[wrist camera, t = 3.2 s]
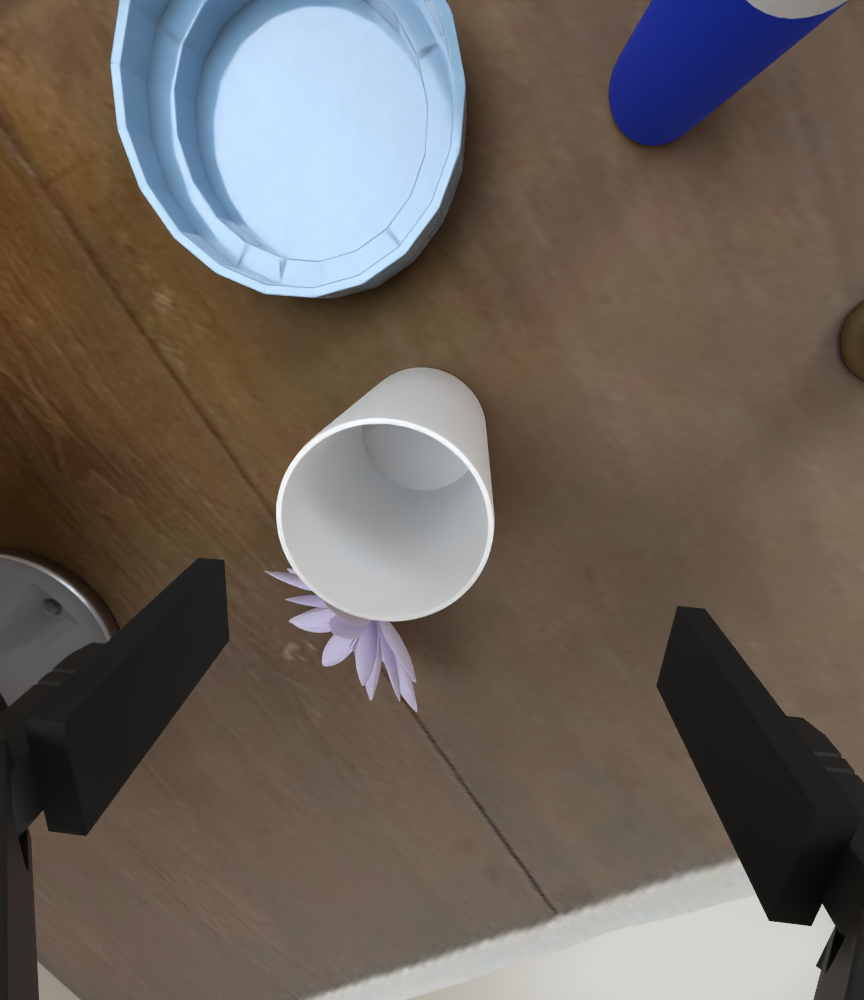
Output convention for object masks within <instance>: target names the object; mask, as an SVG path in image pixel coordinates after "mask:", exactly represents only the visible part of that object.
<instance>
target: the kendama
mask: <svg viewBox="0 0 864 1000" xmlns="http://www.w3.org/2000/svg"><path fill="white" fill-rule="evenodd" d="M841 354H842V357H843V359H844V361H845V363H846V365H847V368H848V370H850V371H851V372H852V373H853V374H855V375H856V376H857V377H858V378H860V379H861V380H864V301H862V302H861V303H860V304H859V305H858V306H857V307H856V308H855V309H854V311H853V312H852V313H851V314H850V315H849V316H848V317H847V319H846V322H845V325H844V328H843V331H842V334H841Z"/></svg>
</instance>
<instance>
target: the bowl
mask: <svg viewBox="0 0 864 1000" xmlns="http://www.w3.org/2000/svg"><path fill="white" fill-rule="evenodd" d="M110 62H111V63H110V66H111V75H112V84H113V93H114V102H115V111H116V121H117V128H118V132H119V135H120V137H121V140H122V143H123V145H124V148H125V151H126V154H127V156H128V159H129V162H130V164H131V167H132V170H133V172H134V175H135V178H136V180H137V183H138V186H139V188H140V190H141V191H142V193H143V194H144V196H145V197H146V199H147V200H148V202H149V203H150V204H151V206H152V207H153V209H154V210H155V212H156V213H157V215H158V216H159V217H160V219H161V220H162V222H163V223H164V225H165V226H166V228H167V229H168V230H169V232H170V233H171V235H172V236H173V237H174V238H175V240H177V241H178V242H179V243H180V244H181V245H183V246H184V247H185V248H186V249H187V250H189V251H190V252H191V253H192V254H193V255H195V256H196V257H197V258H198V259H199V260H201V261H202V262H203V263H204V264H205V265H207V266H208V267H209V268H210V269H211V270H213V271H214V272H215V273H217V274H218V275H220V276H223V277H225V278H227V279H230V280H232V281H234V282H237V283H239V284H241V285H244V286H246V287H249V288H251V289H253V290H256V291H258V292H260V293H263V294H267V295H280V296H293V297H306V298H325V299H336V298H340V297H343V296H347V295H351V294H354V293H358V292H362V291H365V290H369V289H373V288H376V287H378V286H379V285H381V284H382V283H384V282H385V281H387V280H388V279H389V278H391V277H392V276H394V275H395V274H397V273H398V272H400V271H401V270H402V269H404V268H405V267H407V266H408V265H410V264H411V263H413V262H414V260H416V258H417V257H418V256H419V254H420V253H421V252H422V250H423V249H424V248H425V246H426V245H427V244H428V242H429V241H430V240H431V238H432V237H433V236H434V235H435V233H436V232H437V231H438V229H439V228H440V227H441V225H442V224H443V221H444V220H445V218H446V215H447V213H448V210H449V207H450V204H451V202H452V199H453V196H454V194H455V191H456V188H457V185H458V183H459V180H460V177H461V175H462V171H463V161H464V148H465V136H466V123H467V102H466V81H465V76H464V71H463V65H462V60H461V55H460V50H459V44H458V39H457V34H456V29H455V23H454V18H453V14H452V11H451V9H450V7H449V5H448V3H447V1H446V0H120V1H119V8H118V15H117V21H116V28H115V34H114V41H113V47H112V54H111V61H110Z"/></svg>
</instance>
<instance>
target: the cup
mask: <svg viewBox="0 0 864 1000" xmlns="http://www.w3.org/2000/svg"><path fill="white" fill-rule="evenodd" d="M276 522H277V530H278V534H279V539H280V542H281V545H282V548H283V551H284V553H285V555H286V557H287V560H288V561H289V563H290V565H291V567H292V568H293V570H294V571H295V572H296V574H297V575H298V577H299V578H300V579H301V580H302V581H303V583H304V584H305V585H306V586H307V587H308V588H309V589H310V590H311V591H313V592H314V593H315V594H316V595H317V596H319V597H320V598H321V599H323V600H324V601H326V602H327V603H329V604H330V605H332V606H334V607H336V608H338V609H340V610H342V611H344V612H346V613H349V614H352V615H354V616H358V617H361V618H365V619H370V620H377V621H406V620H412V619H417V618H421V617H425V616H427V615H430V614H433V613H435V612H437V611H440V610H442V609H444V608H445V607H447V606H449V605H450V604H452V603H453V602H455V601H456V600H457V599H459V598H460V597H461V596H462V595H463V594H464V593H465V592H466V591H467V590H468V589H469V588H470V587H471V586H472V585H473V583H474V582H475V581H476V580H477V578H478V577H479V575H480V573H481V572H482V570H483V568H484V566H485V564H486V562H487V559H488V556H489V553H490V550H491V545H492V541H493V534H494V508H493V496H492V486H491V475H490V464H489V453H488V443H487V432H486V422H485V417H484V413H483V410H482V408H481V405H480V403H479V401H478V399H477V398H476V396H475V395H474V393H473V392H472V391H471V390H470V389H469V388H468V387H467V386H466V385H465V384H464V383H463V382H462V381H461V380H459V379H458V378H456V377H455V376H453V375H451V374H449V373H447V372H444V371H441V370H438V369H433V368H426V367H417V368H409V369H405V370H402V371H399V372H396V373H394V374H392V375H390V376H389V377H387V378H386V379H384V380H383V381H382V382H380V383H379V384H378V385H377V386H375V387H374V388H373V389H372V390H371V391H369V392H368V393H367V394H366V395H364V396H363V397H362V398H361V399H360V400H358V401H357V402H356V403H355V404H354V405H352V406H351V407H350V408H349V409H347V410H346V411H345V412H344V413H343V414H341V415H340V416H339V417H338V418H336V419H335V420H334V421H333V422H332V423H330V424H329V425H328V426H327V427H325V428H324V429H323V430H322V431H321V432H319V433H318V434H317V435H316V436H315V437H313V438H312V439H311V440H310V441H309V442H308V443H307V444H306V445H305V446H304V447H303V448H302V449H301V450H300V451H299V453H298V454H297V455H296V457H295V458H294V460H293V461H292V463H291V464H290V466H289V468H288V469H287V471H286V473H285V475H284V478H283V480H282V482H281V486H280V489H279V493H278V498H277V507H276Z"/></svg>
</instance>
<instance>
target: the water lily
mask: <svg viewBox="0 0 864 1000" xmlns="http://www.w3.org/2000/svg"><path fill="white" fill-rule="evenodd" d="M287 570H288V571H289V572H290V573H285V572H274V571H264V572H266V573H268V574H270V575H272V576H273V577H275V578H277V579H279V580H281V581H284V582H286V583H288V584H291V585H293V586H296V587H299V588H302V589H305V590H310V589H309V588H308V587H307V586H306V585H305V584H304V583H303V581H302V580H301V579H300V578H299V577H298V575H297V574H296V572H295V571H294V570H293V568H288V569H287ZM310 591H311V590H310ZM284 600H287V601H291V602H294V603H298V604H302V605H307V606H313V607H317V608H314V609H311V610H309V611H307V612H304V613H302V614H300V615H298V616H296V617H293V618H292V619H290V620H289V622H290V623H292V624H294V625H295V626H296V627H298V628H301V629H303V630H306V631H310V632H317V633H324V632H330V631H332V634H334V635H333V636H332V637H331V639H330V640H329V641H328V643H327V644H326V646H325V649H324V651H323V655H322V664H323V666H333V665H336V664H338V663H340V662H341V661H342V660H344V659H345V658H346V657H347V656H348V655H349V654H350V653H351V652H352V651H353V652H354V654H355V655H354V656H355V658H356V668H357V673H358V676H359V679H360V682H361V684H362V686H364V685H366V690H367V693H368V696H369V699H370V701H371V700H372V698H373V695H374V693H375V690H376V686H377V683H378V679H379V674H380V668H381V660H382V661H383V662H384V663H385V666H386V669H387V671H388V674H389V678H390V681H391V684H392V687H393V689H394V692H395V694H396V696H397V698H398V700H399V702H400V693H401V695H402V696H403V698H404V699H405V700H406V702H407V703H408V704H409V705H410V706H411V707H412V709H413V710H414V711H415V712H418V710H417V703H416V698H415V693H414V688H413V685H412V681H413V682H415V683H416V677H415V672H414V668H413V665H412V661H411V659H410V656H409V654H408V651H407V649H406V647H405V645H404V643H403V641H402V639H401V637H400V636H399V634H398V632H397V631H396V629H395V628H394V627H393V625H392V624H391V623H390V621H377V620H370V619H365V618H361V617H358V616H354V615H352V614H349V613H346V612H344V611H342V610H340V609H338V608H336V607H334V606H332V605H330V604H329V603H327V602H326V601H324V600H323V599H321V598H320V597H319V596H317V595H305V596H297V597H292V598H287V599H284ZM411 680H412V681H411Z"/></svg>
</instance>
